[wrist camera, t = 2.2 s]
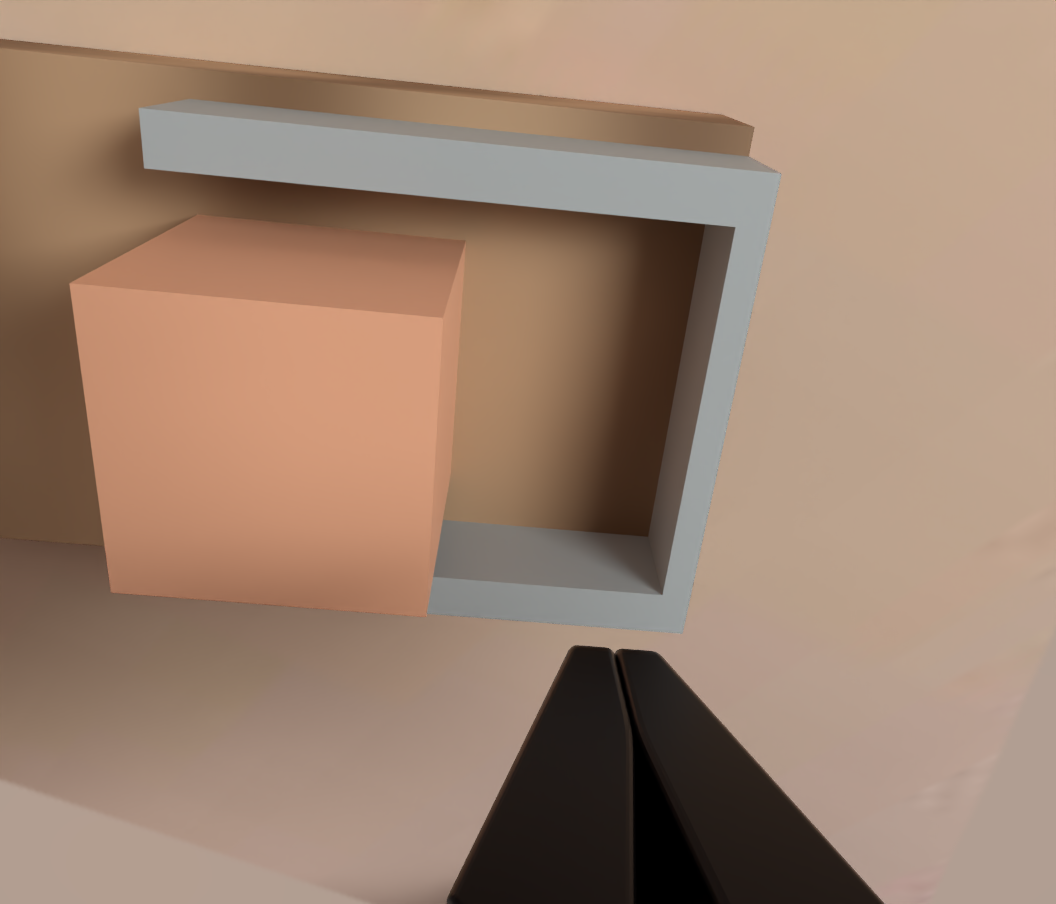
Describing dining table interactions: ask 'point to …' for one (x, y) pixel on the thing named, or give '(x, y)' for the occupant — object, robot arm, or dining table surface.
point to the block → (273, 412)
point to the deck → (488, 228)
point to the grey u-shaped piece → (555, 183)
